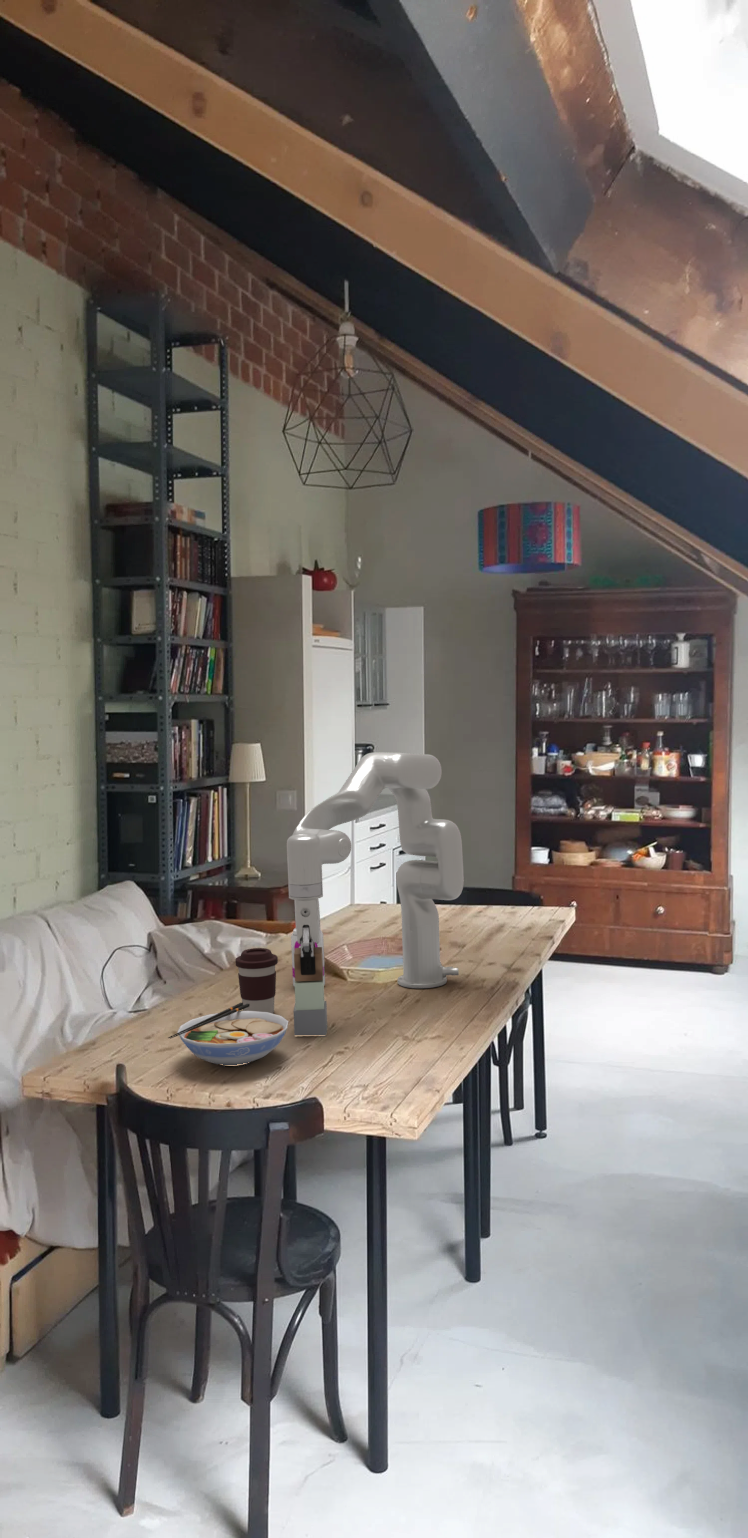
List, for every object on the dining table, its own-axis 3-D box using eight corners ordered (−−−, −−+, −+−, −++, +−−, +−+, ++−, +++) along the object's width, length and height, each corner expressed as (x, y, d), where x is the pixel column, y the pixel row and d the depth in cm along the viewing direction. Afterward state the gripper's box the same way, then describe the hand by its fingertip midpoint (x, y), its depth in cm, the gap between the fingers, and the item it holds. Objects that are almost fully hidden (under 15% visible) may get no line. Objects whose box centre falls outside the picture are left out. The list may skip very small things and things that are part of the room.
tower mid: (324, 1001, 253) (323, 975, 253) (323, 1009, 247) (322, 982, 246) (296, 1002, 253) (295, 976, 253) (295, 1010, 247) (294, 983, 246)
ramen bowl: (240, 1089, 216) (238, 1047, 215) (151, 1071, 228) (149, 1031, 227) (315, 1051, 237) (313, 1013, 236) (230, 1036, 249) (228, 1000, 248)
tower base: (327, 1026, 254) (326, 1000, 253) (326, 1036, 247) (325, 1009, 246) (296, 1028, 254) (295, 1001, 253) (294, 1037, 247) (293, 1010, 246)
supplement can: (320, 991, 283) (318, 932, 282) (289, 991, 285) (286, 932, 284) (328, 983, 291) (326, 926, 290) (297, 982, 293) (295, 925, 292)
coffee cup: (286, 1008, 269) (283, 947, 268) (269, 1020, 260) (266, 956, 259) (248, 1006, 272) (246, 945, 271) (230, 1018, 263) (227, 954, 262)
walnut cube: (323, 973, 253) (322, 947, 252) (322, 980, 247) (321, 953, 246) (296, 974, 252) (295, 948, 252) (295, 981, 246) (293, 954, 246)
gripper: (321, 897, 239) (324, 980, 241) (323, 883, 257) (326, 960, 258) (286, 898, 239) (289, 981, 241) (290, 884, 257) (294, 961, 258)
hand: (308, 969), depth 249 cm, fingers open, 6 cm apart
